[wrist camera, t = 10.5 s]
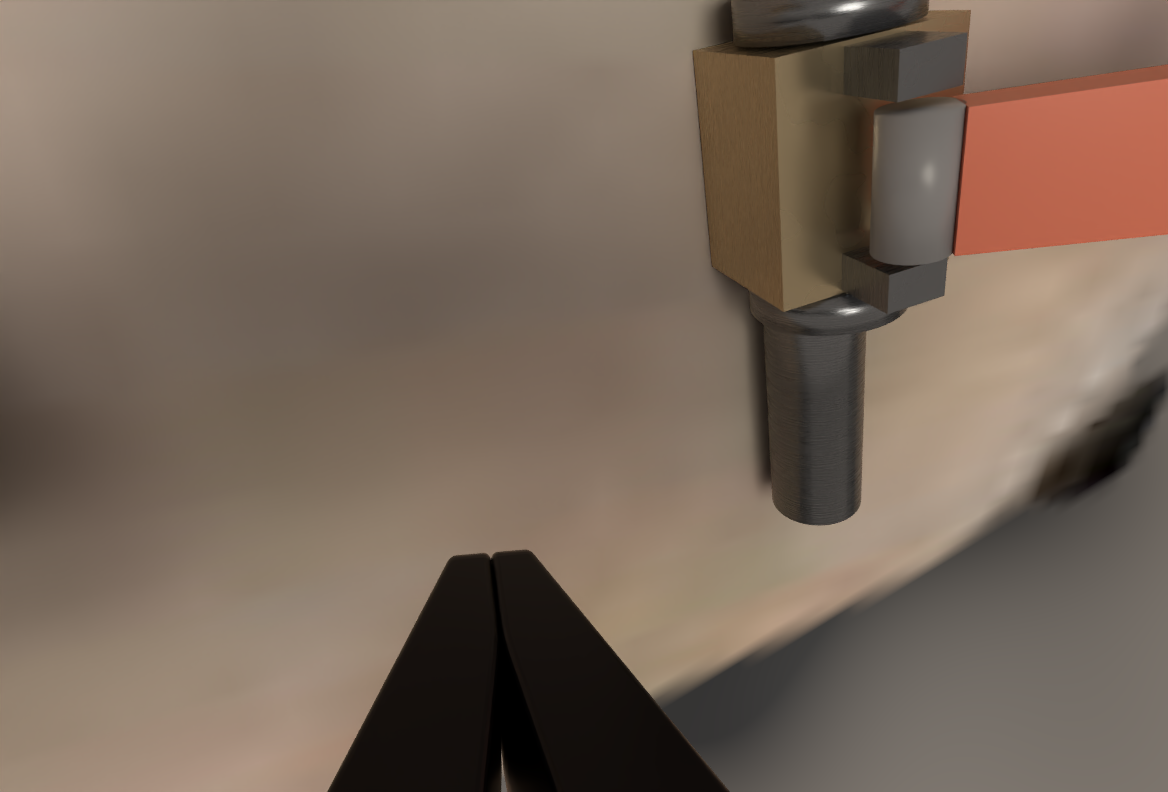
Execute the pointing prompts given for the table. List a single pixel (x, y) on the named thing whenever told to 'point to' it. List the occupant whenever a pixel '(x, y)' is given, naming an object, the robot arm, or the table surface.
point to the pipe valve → (815, 210)
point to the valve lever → (1021, 167)
